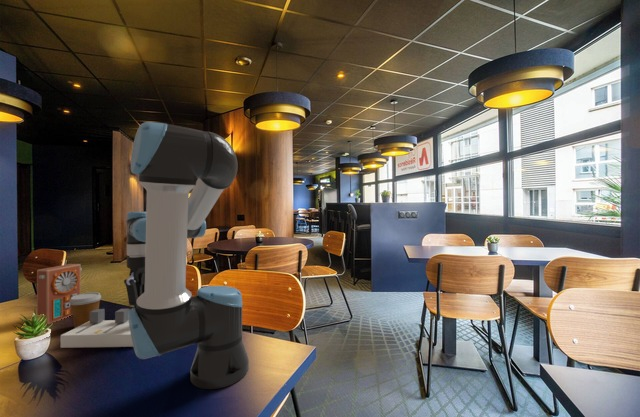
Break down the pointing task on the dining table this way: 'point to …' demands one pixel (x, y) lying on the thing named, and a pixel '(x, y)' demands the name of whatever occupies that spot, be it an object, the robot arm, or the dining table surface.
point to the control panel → (57, 290)
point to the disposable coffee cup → (84, 307)
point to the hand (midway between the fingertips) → (139, 322)
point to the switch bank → (98, 335)
